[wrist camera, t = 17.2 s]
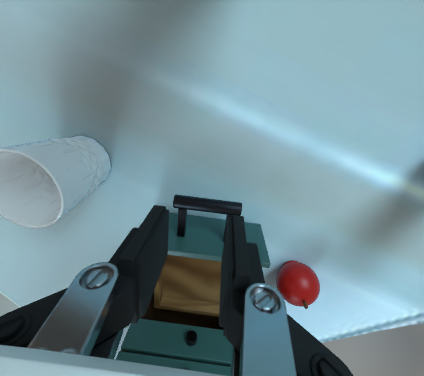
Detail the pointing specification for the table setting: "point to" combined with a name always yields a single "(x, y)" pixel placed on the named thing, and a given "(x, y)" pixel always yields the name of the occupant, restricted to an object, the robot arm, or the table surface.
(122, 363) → the robot arm
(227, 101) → the table surface
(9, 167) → the white cup
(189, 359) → the cabinet
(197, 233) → the drawer
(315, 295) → the apple
